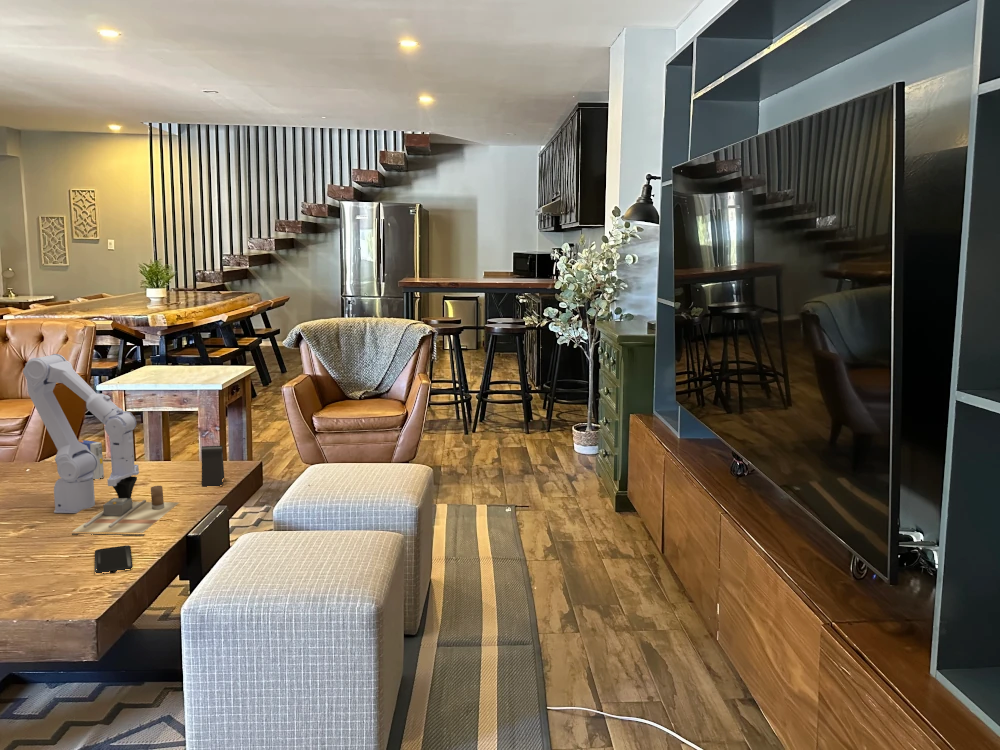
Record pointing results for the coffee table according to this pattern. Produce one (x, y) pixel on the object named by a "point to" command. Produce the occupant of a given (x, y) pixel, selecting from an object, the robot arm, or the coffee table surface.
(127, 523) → the cream ridged tray
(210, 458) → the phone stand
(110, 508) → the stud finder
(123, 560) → the phone
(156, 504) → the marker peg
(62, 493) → the robot arm
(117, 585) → the coffee table surface
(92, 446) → the walkman
